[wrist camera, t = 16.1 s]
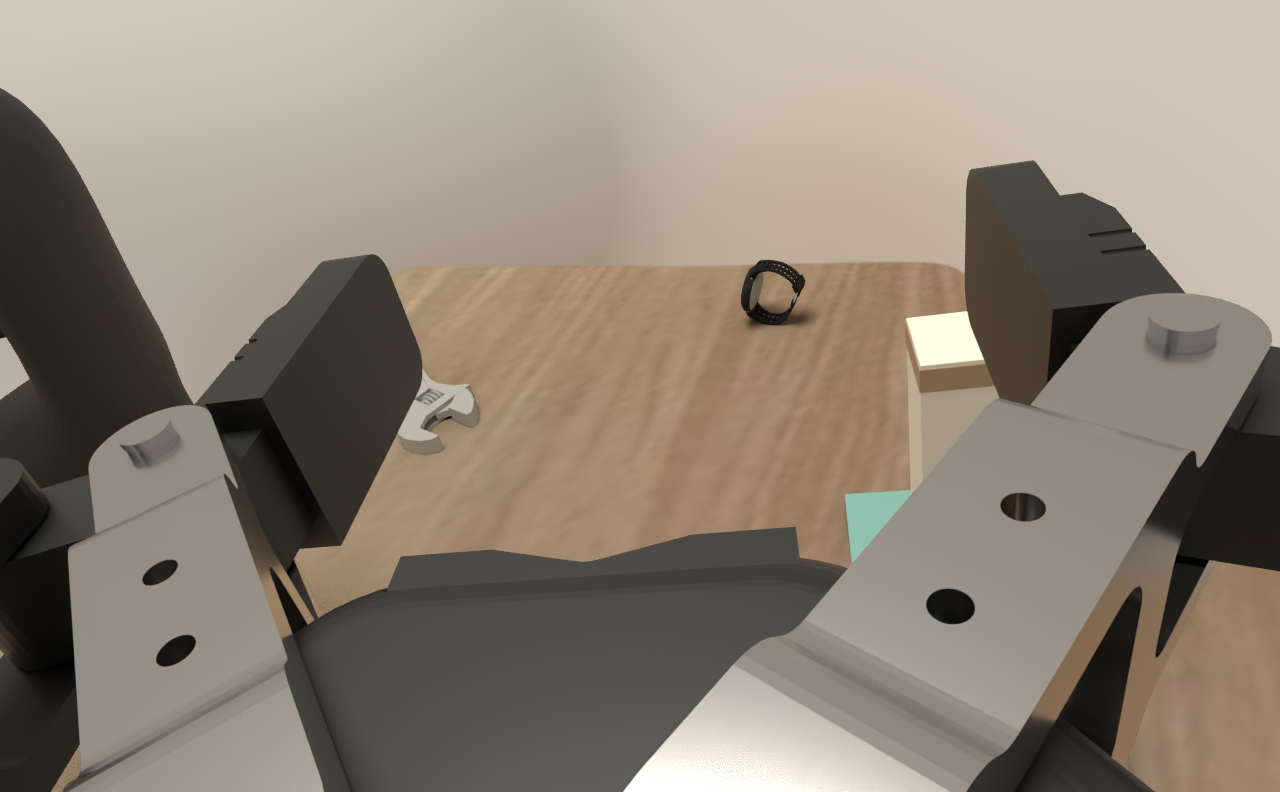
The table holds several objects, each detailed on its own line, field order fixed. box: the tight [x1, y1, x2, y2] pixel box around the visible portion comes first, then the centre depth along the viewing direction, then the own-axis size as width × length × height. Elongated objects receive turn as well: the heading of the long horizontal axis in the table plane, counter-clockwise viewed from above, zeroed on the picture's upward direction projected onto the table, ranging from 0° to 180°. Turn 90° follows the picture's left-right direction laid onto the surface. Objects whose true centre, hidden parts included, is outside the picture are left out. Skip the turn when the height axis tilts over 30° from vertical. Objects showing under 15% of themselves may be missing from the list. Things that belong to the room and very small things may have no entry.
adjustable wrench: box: [398, 368, 479, 454], centre depth 76 cm, size 25×6×2 cm, turn 24°
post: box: [905, 311, 999, 494], centre depth 43 cm, size 4×4×14 cm
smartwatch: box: [741, 260, 805, 325], centre depth 70 cm, size 4×5×5 cm
